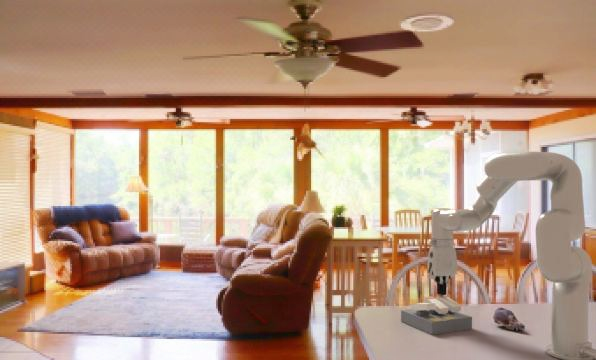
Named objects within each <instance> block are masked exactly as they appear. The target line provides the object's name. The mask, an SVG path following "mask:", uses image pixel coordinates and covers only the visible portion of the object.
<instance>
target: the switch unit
mask: <svg viewBox="0 0 596 360" xmlns="http://www.w3.org/2000/svg"><path fill="white" fill-rule="evenodd" d="M400 322H402V323H404V324H407V325H408V326H411V327H413V328H415V329H417V330H420V331H422V332H425V333H427V334H429V335H432V336H433V335H439V334H445V333H451V332H458V331H466V330H472V329H473V316H471V315H468V314H465V313H461V312H460V311H459V312H451V311H450V310H448V313H444V314H439V313H437V312H436V311H435V310H433V309H432V310H411V308H409V309H400Z"/></svg>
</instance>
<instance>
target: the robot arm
mask: <svg viewBox="0 0 596 360" xmlns="http://www.w3.org/2000/svg"><path fill="white" fill-rule="evenodd" d="M484 173H485V175H484V176H483V178H482V179H481V180H479V182H478V183H477V184H476V191H477V193H478V194H479V197H478V198H477V200H476V201H475V202H474V203H473V204H472V205H471V206H470V207H469V208H465V209H464V208H461V209H449V208H434V209H433V210H432V211H431V240H429V245H431V246H430V247H429V252H428V257H427V258H428V259H427V273H428V274H429V276H428V279H430V280H434V281H435V283H436V295H446V296H447V289H448V288H447V287H448V286H447V285H448V284H449V281H450V279H451V278H452V279H453V278H455V275H457V274H458V258H457V252H456V247H454V232H465V231H474V230H477V229H478V228H480V227H482V225H483V224H485V223H486V222H487V220H488V219H490V217H491V216H493V213H494V212H495V210H496V208H497V205H498V202H499V200H500V199H501V198H503V197H504V195H505V194H507V192H508V191H510V189H511V188H512V187H513V186H514V185H515V184H516V183H517V182H518V181H550V182H551V185H552V186H551V189H550V210H546V211H545V212H543V213H542V214H541V215H539V217H538V218H537V221H536V225H535V244H536V245H535V247H536V262H537V269H538V270H539V273H540V274H541V276H542V277H543V278H544V279H545V280H546V281H549V282H551V283H552V288H551V289H552V291H551V344H548V345H546V346H545V352H546V354H548V355H549V356H551V357H554V358H556V359H561V360H594V359H595V360H596V348H593V347H592V346H593V343H592V342H590V341H589V316H590V315H589V309H590V308H589V307H590V305H589V303H590V297H589V296H590V283H591V278H592V273H593V264H592V263H593V262H592V258H591V256H590V255H589V253H588V252H587V251H586V250H585V249H583V247H579V246H576V245H572V242H574V241H577V240H579V239H581V238H582V237H583V235H584V234H585V231H586V221H585V220H586V219H585V203H584V195H583V193H584V192H583V177H582V173H581V169H580V167H579V166H578V164H577V163H576V162H575V161H574V160H573V158H571V157H569V156H567V155H564V154H561V153H558V152H557V153H556V152H550V151H524V152H523V151H522V152H521V151H520V152H509V153H496V154H493V155H491V156H490V157H489V158H487V160H486V161H485V163H484Z"/></svg>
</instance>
